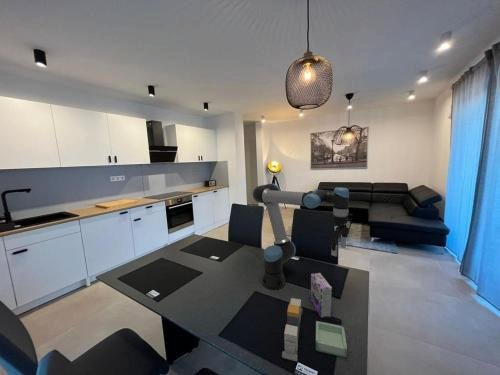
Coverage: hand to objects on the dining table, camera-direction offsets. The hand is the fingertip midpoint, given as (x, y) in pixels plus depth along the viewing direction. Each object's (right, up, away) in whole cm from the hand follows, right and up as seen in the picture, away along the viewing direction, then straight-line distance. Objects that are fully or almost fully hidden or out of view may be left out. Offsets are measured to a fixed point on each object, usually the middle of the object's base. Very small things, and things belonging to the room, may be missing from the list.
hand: (338, 251), depth 119 cm
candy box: (-13, -29, -6) cm, 32 cm away
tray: (-15, -32, -27) cm, 45 cm away
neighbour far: (-27, -30, -13) cm, 43 cm away
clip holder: (-30, -31, -21) cm, 48 cm away
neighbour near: (-33, -33, -30) cm, 55 cm away
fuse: (-30, -31, -21) cm, 49 cm away
